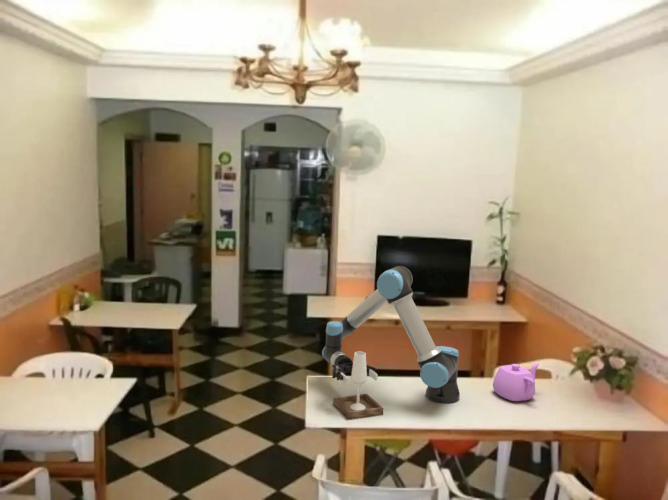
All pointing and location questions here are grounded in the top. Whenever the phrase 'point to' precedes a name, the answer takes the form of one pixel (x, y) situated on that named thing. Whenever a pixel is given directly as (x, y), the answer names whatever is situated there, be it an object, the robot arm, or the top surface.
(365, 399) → the walnut tray
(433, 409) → the top surface
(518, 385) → the teapot
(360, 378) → the champagne flute
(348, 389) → the top surface
